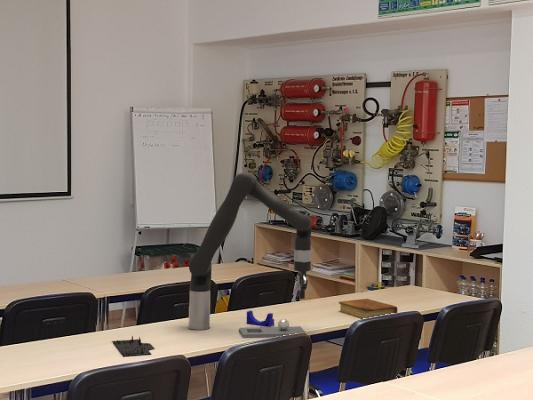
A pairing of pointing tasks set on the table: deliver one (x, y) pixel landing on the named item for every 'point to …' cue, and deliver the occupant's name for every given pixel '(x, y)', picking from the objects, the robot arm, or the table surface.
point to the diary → (366, 308)
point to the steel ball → (283, 324)
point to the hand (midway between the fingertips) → (301, 298)
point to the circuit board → (133, 347)
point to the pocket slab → (268, 331)
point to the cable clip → (253, 321)
